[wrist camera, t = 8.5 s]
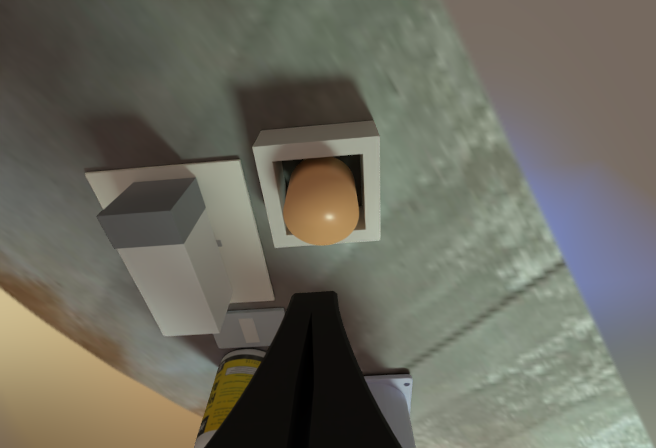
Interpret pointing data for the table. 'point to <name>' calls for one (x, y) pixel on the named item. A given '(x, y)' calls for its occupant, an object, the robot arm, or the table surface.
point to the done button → (321, 201)
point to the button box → (317, 144)
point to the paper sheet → (210, 216)
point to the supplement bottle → (227, 389)
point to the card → (249, 328)
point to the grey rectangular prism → (171, 254)
